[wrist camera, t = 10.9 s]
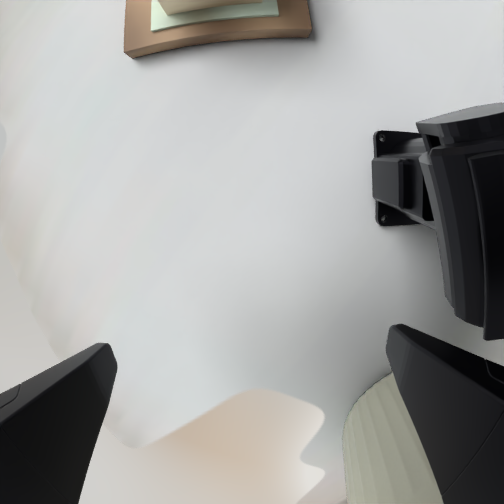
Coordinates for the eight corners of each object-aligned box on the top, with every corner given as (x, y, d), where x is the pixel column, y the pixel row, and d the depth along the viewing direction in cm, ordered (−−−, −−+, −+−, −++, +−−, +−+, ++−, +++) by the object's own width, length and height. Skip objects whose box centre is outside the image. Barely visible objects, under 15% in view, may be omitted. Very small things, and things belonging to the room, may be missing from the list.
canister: (464, 295, 21) (616, 447, 1) (469, 402, 26) (539, 517, 6) (286, 389, 24) (314, 627, 4) (343, 468, 29) (373, 604, 9)
